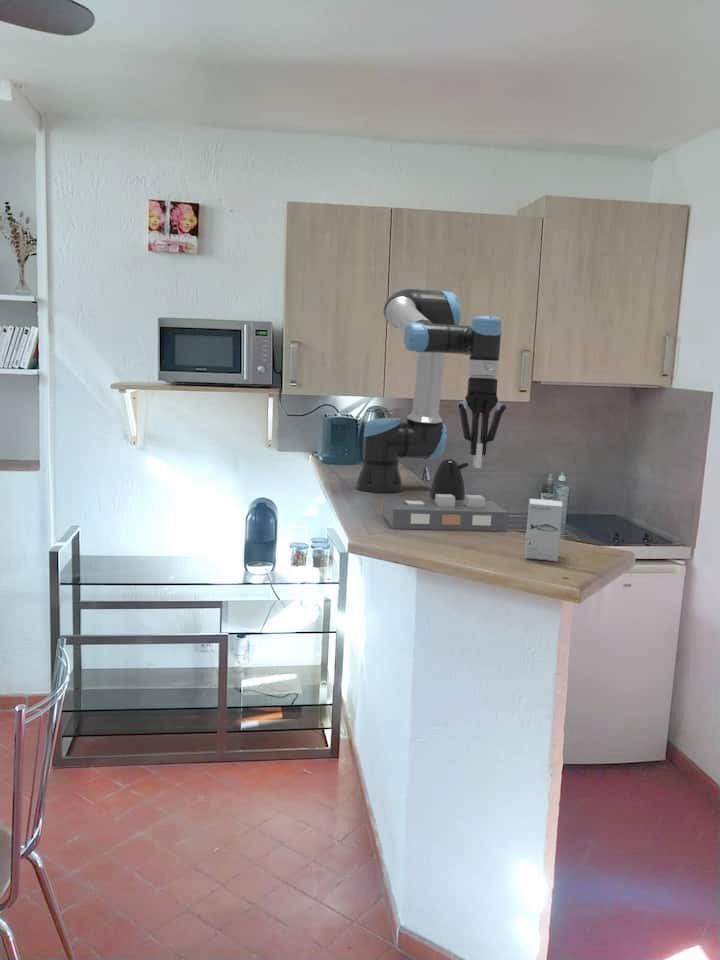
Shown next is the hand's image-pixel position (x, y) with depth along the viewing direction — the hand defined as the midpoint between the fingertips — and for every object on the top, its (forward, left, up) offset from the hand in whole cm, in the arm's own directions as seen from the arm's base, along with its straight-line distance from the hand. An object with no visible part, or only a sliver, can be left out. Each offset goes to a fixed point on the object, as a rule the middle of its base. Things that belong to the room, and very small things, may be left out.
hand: (477, 467), depth 208 cm
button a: (0, -16, -14) cm, 21 cm away
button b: (0, -8, -12) cm, 15 cm away
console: (0, -8, -15) cm, 17 cm away
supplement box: (+34, +7, -16) cm, 38 cm away
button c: (0, 0, -12) cm, 12 cm away
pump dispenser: (-18, -3, -16) cm, 24 cm away
